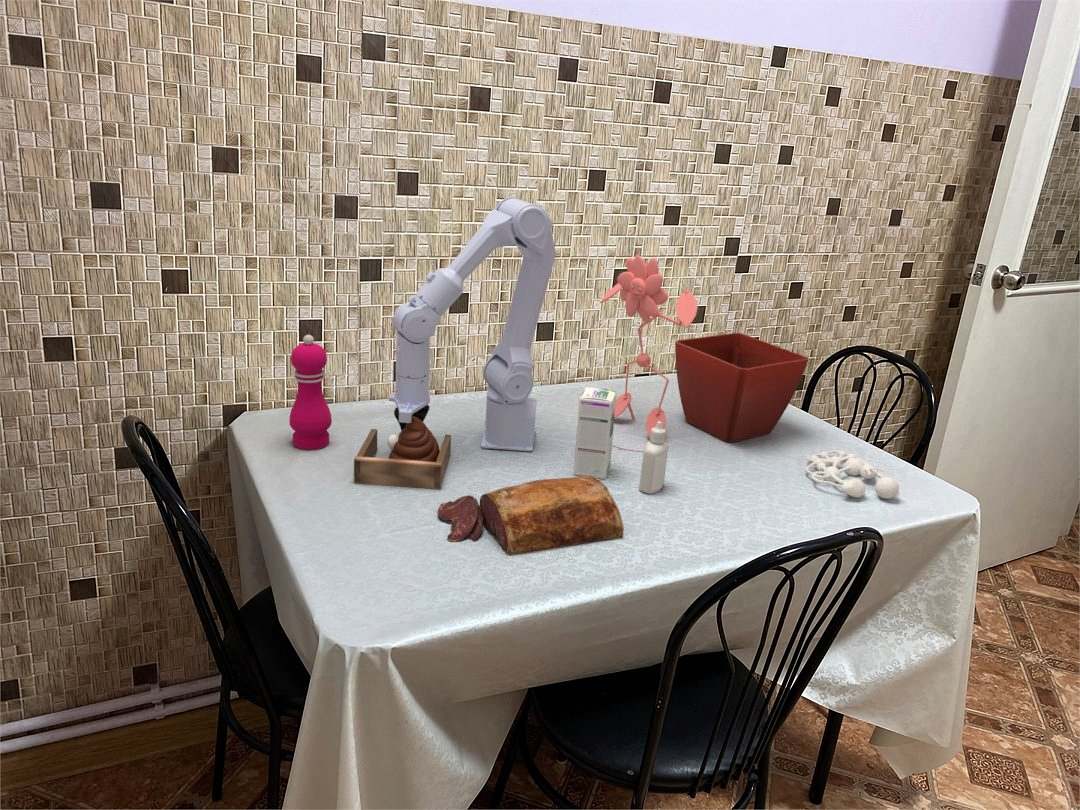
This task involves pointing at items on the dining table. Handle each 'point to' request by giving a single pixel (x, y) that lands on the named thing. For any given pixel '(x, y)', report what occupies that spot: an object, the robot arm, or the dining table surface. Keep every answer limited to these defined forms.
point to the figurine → (647, 319)
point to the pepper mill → (309, 397)
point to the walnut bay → (399, 467)
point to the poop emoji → (414, 443)
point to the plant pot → (735, 384)
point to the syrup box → (594, 432)
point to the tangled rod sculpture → (854, 467)
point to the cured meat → (537, 514)
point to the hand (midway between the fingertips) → (411, 446)
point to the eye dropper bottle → (654, 461)
